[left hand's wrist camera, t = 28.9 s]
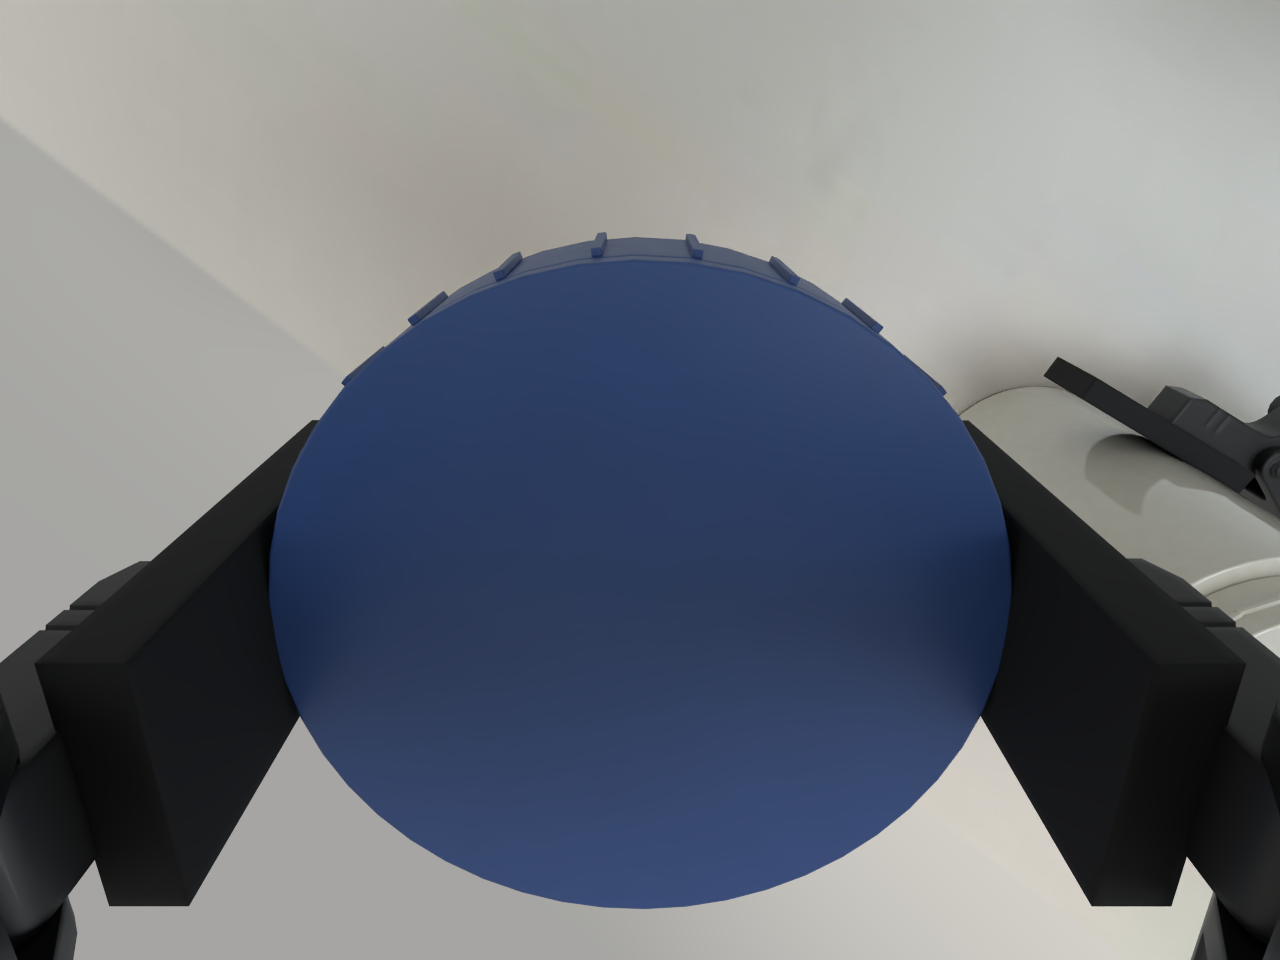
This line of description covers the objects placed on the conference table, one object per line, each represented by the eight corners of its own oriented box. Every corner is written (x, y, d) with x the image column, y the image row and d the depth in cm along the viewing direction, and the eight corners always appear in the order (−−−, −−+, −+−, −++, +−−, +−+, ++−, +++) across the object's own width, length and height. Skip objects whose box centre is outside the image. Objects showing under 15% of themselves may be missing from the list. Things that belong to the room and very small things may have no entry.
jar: (1051, 588, 38) (1332, 904, 22) (888, 528, 37) (1065, 816, 21) (1156, 427, 35) (1560, 661, 20) (982, 356, 34) (1266, 545, 19)
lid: (1082, 384, 11) (1174, 437, 9) (788, 867, 14) (811, 982, 12) (428, 111, 10) (377, 106, 8) (260, 703, 13) (194, 803, 11)
